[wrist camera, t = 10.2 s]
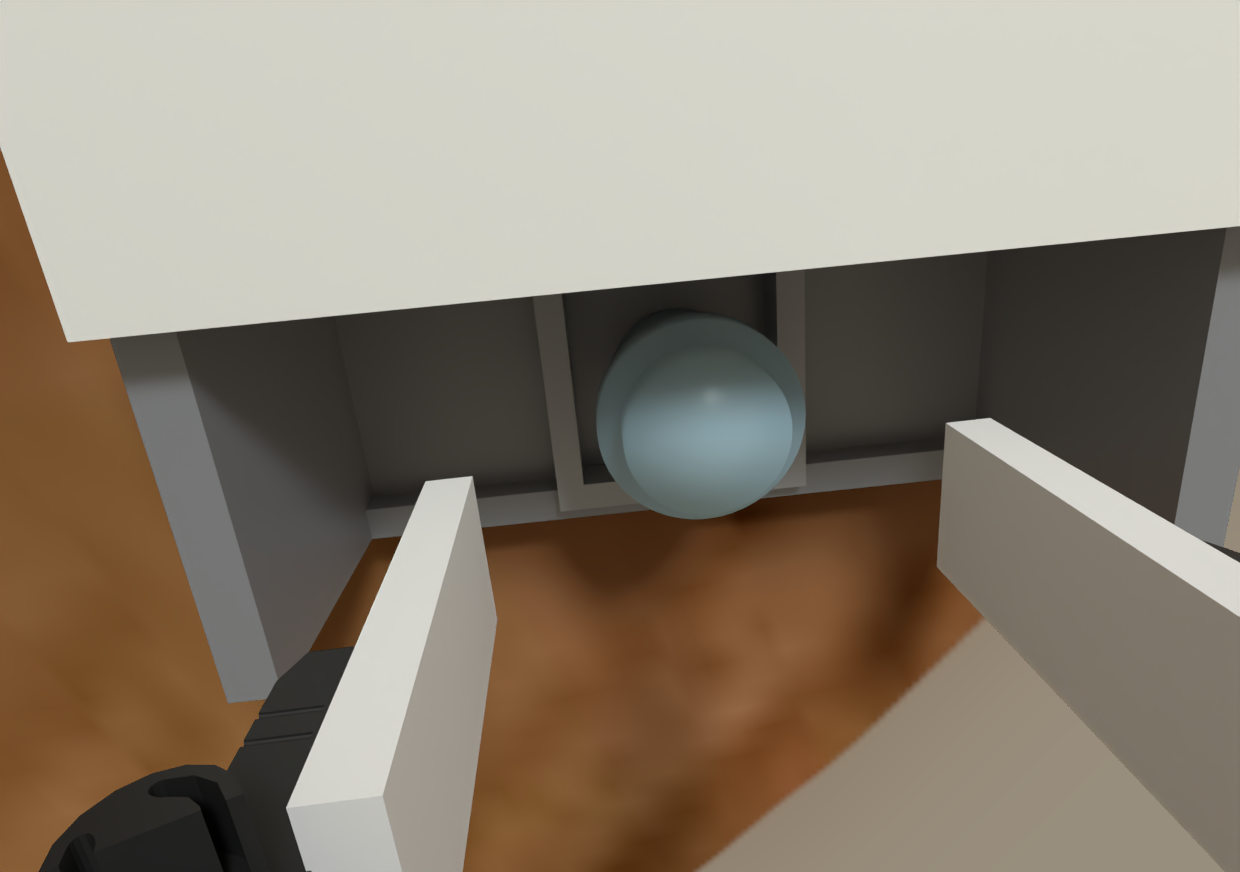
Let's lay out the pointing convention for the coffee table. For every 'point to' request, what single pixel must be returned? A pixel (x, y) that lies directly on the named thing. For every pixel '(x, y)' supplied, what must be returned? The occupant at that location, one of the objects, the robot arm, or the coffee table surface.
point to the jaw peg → (698, 414)
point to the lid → (586, 143)
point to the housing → (575, 364)
